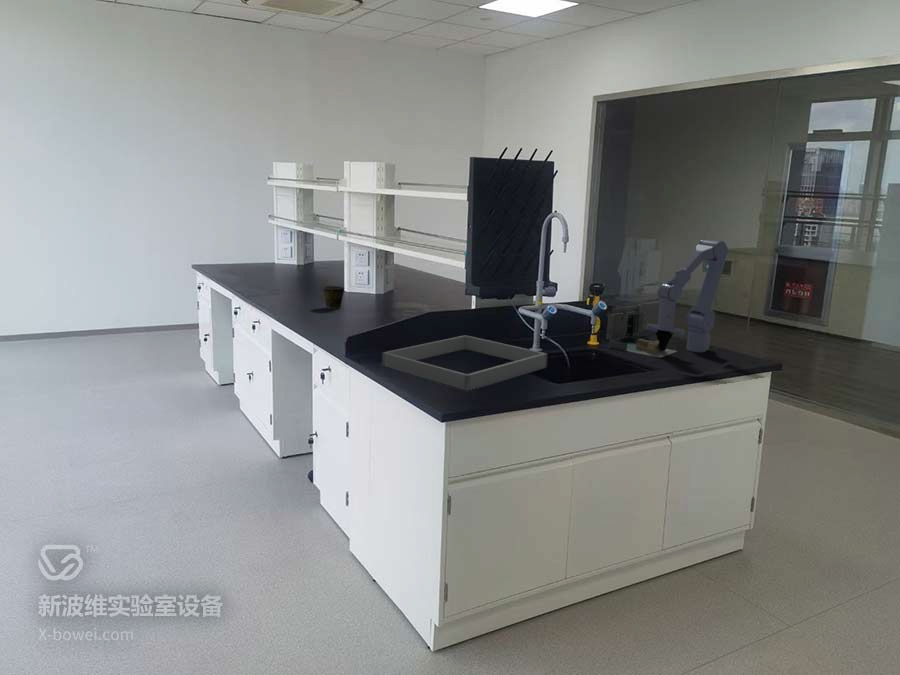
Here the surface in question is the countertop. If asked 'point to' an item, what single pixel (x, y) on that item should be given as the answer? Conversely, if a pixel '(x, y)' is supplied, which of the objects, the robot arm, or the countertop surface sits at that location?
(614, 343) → the bracket
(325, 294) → the ceramic cup
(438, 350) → the grey square frame
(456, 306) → the countertop surface
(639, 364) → the countertop surface
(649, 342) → the t block
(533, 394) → the countertop surface
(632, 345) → the mat
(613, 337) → the geiger counter
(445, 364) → the countertop surface
